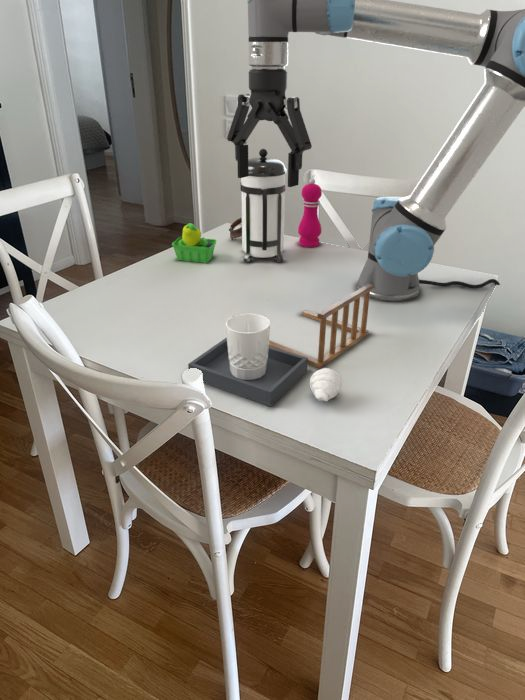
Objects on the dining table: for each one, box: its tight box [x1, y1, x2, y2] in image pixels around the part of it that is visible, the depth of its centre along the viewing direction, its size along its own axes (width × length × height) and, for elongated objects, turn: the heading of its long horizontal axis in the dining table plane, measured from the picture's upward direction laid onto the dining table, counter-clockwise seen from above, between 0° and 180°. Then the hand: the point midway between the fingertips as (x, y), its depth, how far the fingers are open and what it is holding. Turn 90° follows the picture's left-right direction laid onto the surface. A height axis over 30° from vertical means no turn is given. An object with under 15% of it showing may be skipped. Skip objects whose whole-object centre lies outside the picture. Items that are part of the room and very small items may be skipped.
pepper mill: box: [297, 177, 323, 248], centre depth 163 cm, size 7×7×20 cm
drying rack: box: [269, 284, 373, 369], centre depth 110 cm, size 18×16×11 cm
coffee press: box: [239, 148, 288, 264], centre depth 149 cm, size 17×16×30 cm
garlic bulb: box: [309, 367, 342, 402], centre depth 91 cm, size 6×6×5 cm
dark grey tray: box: [187, 336, 309, 407], centre depth 100 cm, size 18×14×3 cm
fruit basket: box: [171, 222, 217, 264], centre depth 153 cm, size 11×9×11 cm
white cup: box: [225, 313, 271, 380], centre depth 98 cm, size 8×8×10 cm
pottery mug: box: [228, 217, 242, 241], centre depth 171 cm, size 12×10×8 cm
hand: (267, 181), depth 114 cm, fingers open, 13 cm apart
